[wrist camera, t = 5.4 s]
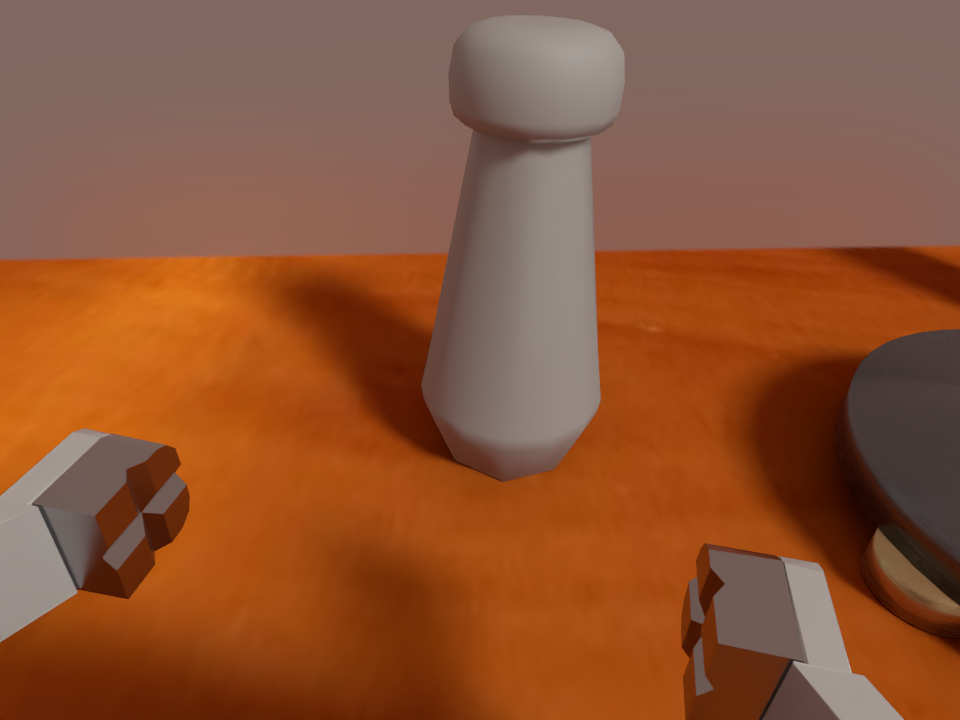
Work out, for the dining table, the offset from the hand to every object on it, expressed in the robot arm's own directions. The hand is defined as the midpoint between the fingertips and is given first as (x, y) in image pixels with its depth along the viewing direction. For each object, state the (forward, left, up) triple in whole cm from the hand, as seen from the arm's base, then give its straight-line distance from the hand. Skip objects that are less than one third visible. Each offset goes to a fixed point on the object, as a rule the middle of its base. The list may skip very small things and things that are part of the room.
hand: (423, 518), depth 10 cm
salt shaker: (0, +11, -8) cm, 13 cm away
